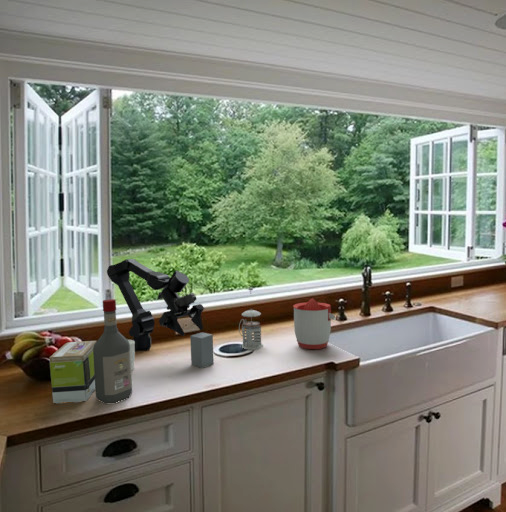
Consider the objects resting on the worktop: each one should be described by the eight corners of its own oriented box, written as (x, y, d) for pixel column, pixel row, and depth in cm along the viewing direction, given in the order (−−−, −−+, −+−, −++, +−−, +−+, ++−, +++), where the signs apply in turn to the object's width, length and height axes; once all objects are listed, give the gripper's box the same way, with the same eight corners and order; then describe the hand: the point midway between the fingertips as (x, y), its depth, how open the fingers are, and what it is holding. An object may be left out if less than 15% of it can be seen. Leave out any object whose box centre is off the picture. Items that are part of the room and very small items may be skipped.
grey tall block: (191, 364, 154) (190, 335, 153) (202, 360, 159) (201, 332, 158) (202, 368, 151) (201, 338, 150) (213, 363, 155) (212, 334, 154)
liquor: (135, 395, 128) (131, 299, 125) (109, 406, 121) (103, 304, 118) (119, 388, 134) (114, 296, 131) (92, 398, 127) (87, 301, 124)
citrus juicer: (333, 353, 163) (332, 303, 162) (290, 350, 169) (289, 301, 167) (338, 342, 178) (337, 295, 176) (298, 339, 184) (297, 294, 182)
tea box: (69, 384, 138) (66, 341, 137) (100, 382, 139) (98, 339, 138) (51, 404, 123) (48, 355, 122) (86, 402, 124) (83, 354, 123)
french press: (268, 345, 176) (267, 286, 174) (249, 352, 167) (248, 290, 165) (251, 341, 183) (250, 284, 180) (232, 347, 174) (230, 288, 172)
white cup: (140, 366, 153) (138, 340, 153) (127, 374, 146) (125, 346, 145) (122, 365, 156) (120, 338, 155) (108, 372, 149) (107, 345, 148)
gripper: (162, 290, 152) (183, 324, 145) (200, 283, 166) (220, 314, 160) (150, 309, 157) (170, 343, 151) (187, 301, 172) (207, 331, 165)
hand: (193, 332), depth 157 cm, fingers open, 9 cm apart
